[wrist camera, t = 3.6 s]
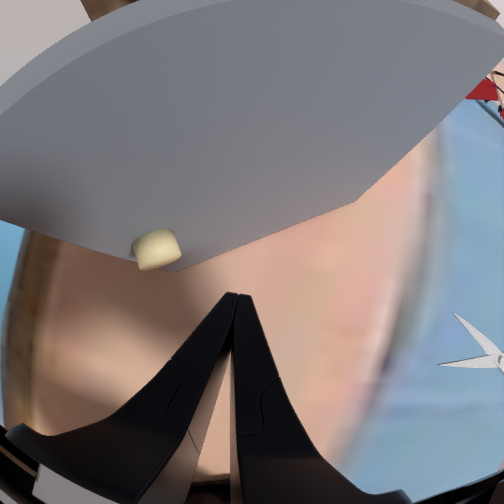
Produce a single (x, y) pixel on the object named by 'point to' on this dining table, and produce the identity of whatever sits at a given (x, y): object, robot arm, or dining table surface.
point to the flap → (226, 117)
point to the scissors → (495, 354)
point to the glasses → (486, 92)
